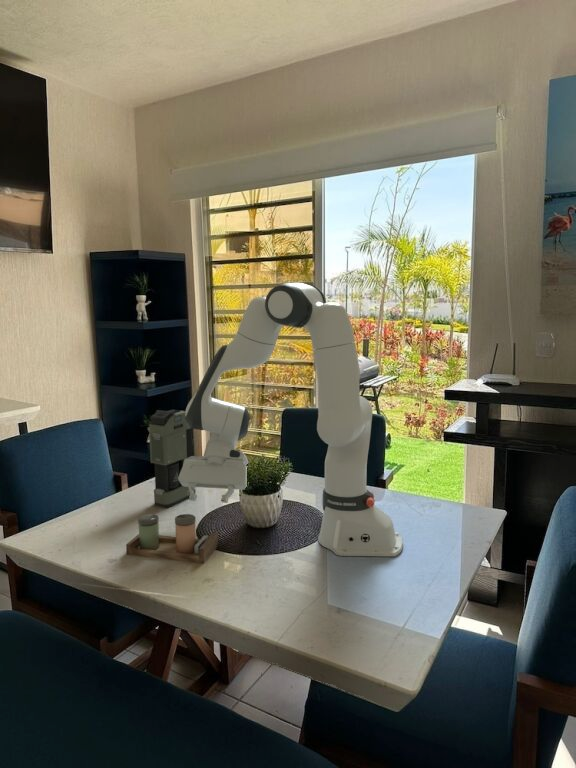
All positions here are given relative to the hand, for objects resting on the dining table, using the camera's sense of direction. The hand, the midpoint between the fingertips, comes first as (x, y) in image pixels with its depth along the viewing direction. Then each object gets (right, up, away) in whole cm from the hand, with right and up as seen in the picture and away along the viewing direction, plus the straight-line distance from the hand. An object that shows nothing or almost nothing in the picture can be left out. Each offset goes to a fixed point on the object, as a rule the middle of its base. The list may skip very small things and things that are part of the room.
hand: (208, 501), depth 151 cm
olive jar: (-14, -10, -9) cm, 20 cm away
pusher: (+1, -11, -12) cm, 16 cm away
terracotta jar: (-4, -10, -11) cm, 16 cm away
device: (-15, -5, +26) cm, 30 cm away
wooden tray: (-7, -11, -10) cm, 17 cm away
